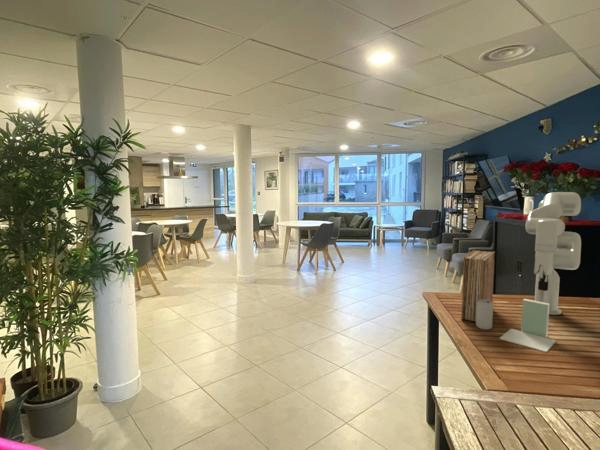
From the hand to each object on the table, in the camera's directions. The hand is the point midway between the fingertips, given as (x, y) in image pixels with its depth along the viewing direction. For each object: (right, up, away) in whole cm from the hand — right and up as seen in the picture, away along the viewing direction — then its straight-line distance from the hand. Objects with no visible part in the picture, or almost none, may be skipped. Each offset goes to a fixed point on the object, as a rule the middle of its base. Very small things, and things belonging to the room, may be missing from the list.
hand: (542, 289), depth 149 cm
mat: (-14, -18, -10) cm, 25 cm away
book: (-19, -16, +19) cm, 31 cm away
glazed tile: (-7, -18, -4) cm, 20 cm away
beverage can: (-24, -17, +3) cm, 30 cm away
